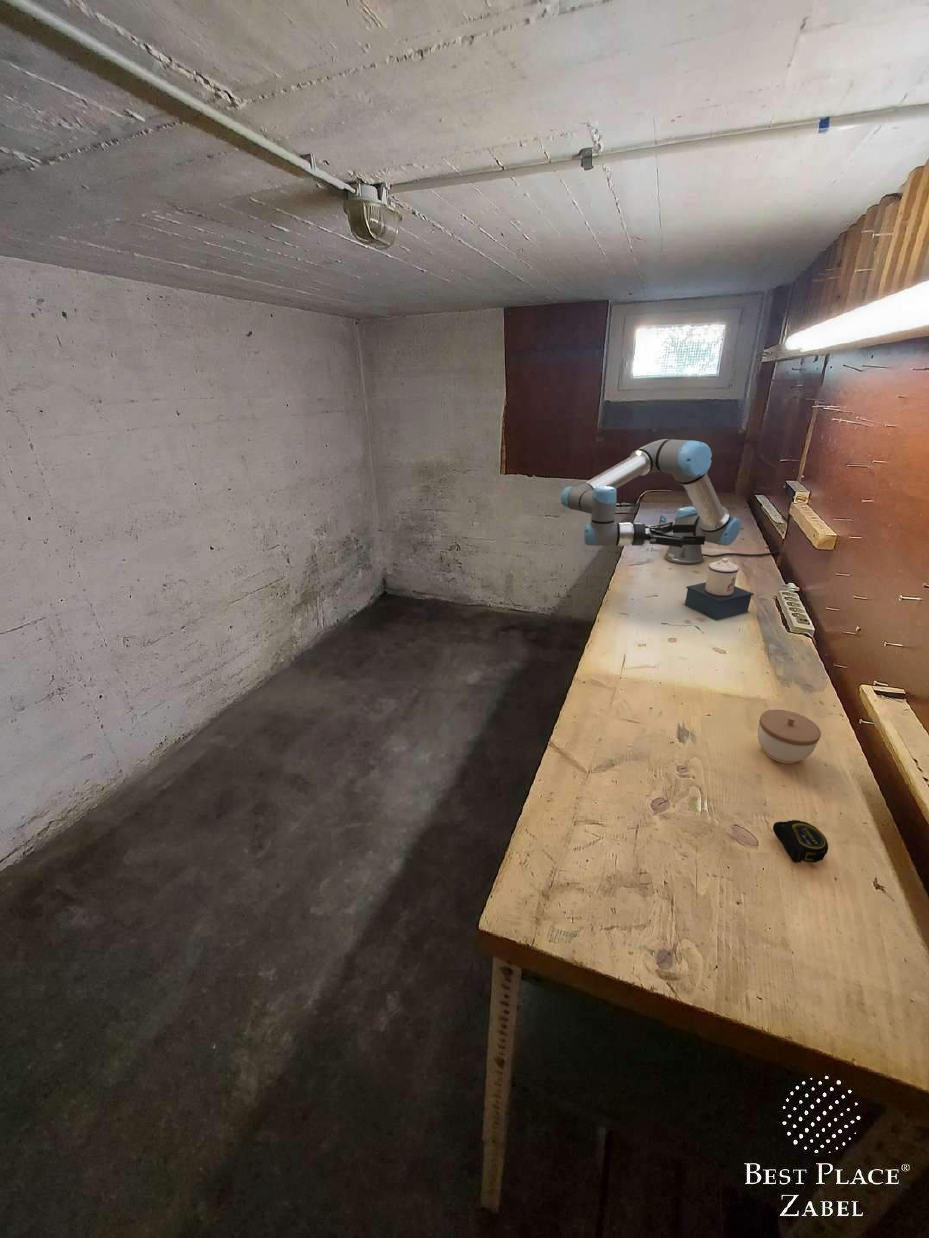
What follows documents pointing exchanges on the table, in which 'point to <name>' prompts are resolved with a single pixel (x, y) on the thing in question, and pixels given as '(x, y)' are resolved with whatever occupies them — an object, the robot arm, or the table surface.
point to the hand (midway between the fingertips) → (698, 534)
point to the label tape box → (664, 522)
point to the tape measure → (801, 841)
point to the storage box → (717, 601)
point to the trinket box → (787, 735)
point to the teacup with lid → (721, 577)
